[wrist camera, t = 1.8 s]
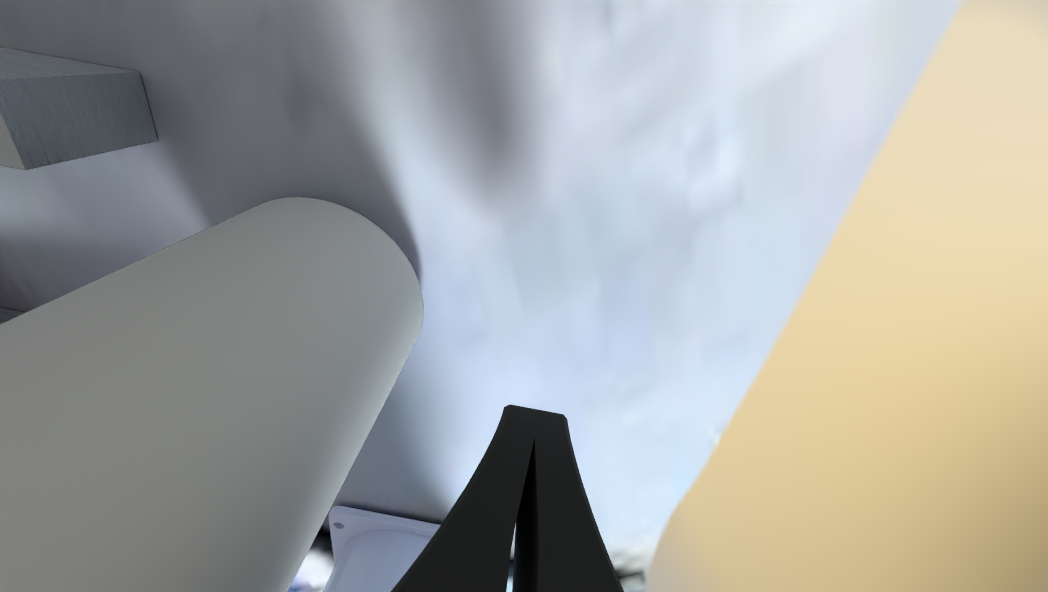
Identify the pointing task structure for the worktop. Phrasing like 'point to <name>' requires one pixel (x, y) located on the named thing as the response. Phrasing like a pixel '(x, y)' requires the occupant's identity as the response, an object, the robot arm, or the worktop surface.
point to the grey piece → (66, 113)
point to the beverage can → (200, 404)
